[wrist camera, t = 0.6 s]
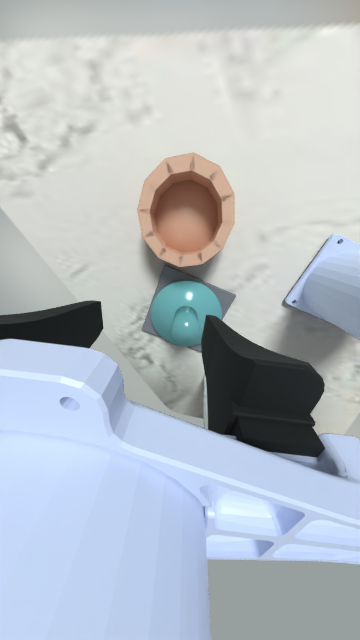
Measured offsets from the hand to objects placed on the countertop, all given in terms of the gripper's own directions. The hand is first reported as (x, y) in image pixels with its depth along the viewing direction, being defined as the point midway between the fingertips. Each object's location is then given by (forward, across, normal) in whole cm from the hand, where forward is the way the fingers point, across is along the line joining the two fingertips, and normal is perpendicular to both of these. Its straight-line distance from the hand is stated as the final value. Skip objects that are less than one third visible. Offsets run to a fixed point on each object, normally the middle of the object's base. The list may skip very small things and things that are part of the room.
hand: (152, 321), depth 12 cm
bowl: (+10, -1, -7) cm, 12 cm away
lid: (+10, -2, +3) cm, 10 cm away
